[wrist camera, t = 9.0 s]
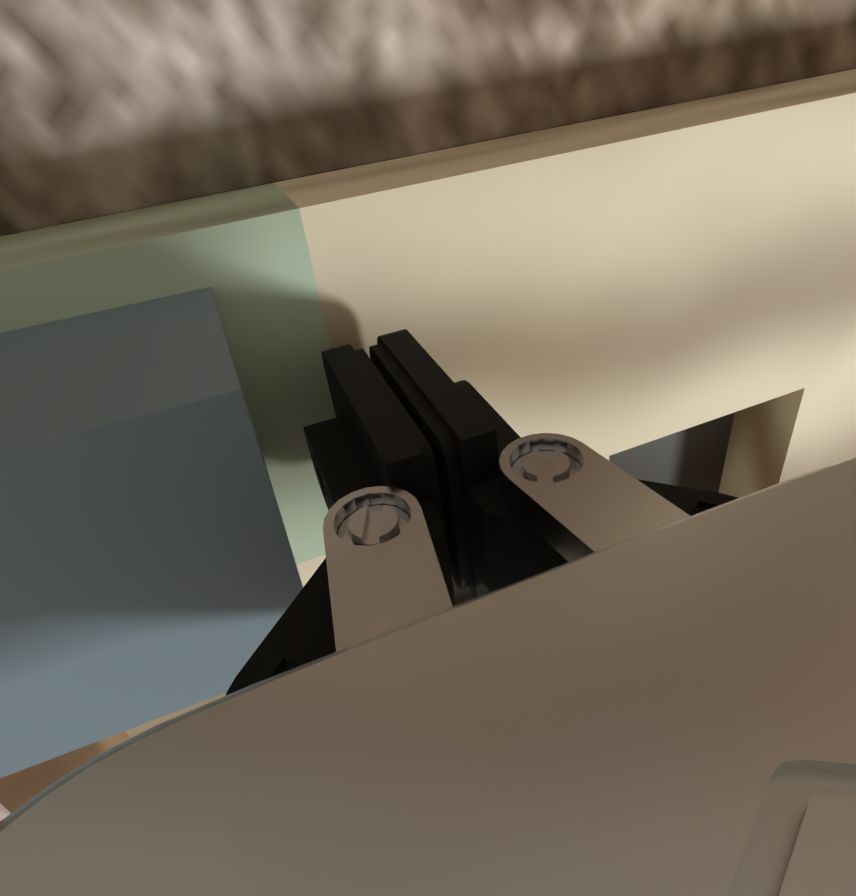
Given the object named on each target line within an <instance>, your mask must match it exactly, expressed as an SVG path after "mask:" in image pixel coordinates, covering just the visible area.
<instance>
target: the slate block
mask: <svg viewBox="0 0 856 896" xmlns="http://www.w3.org/2000/svg"><path fill="white" fill-rule="evenodd" d="M302 588H303V585H302V581H301V578H300V575H299V571H298V568H297V565H296V561H295V558H294V555H293V551H292V548H291V545H290V542H289V538H288V535H287V532H286V528H285V525H284V522H283V518H282V515H281V512H280V509H279V505H278V502H277V499H276V496H275V492H274V489H273V486H272V483H271V480H270V476H269V473H268V470H267V467H266V464H265V460H264V457H263V454H262V451H261V447H260V444H259V441H258V438H257V435H256V431H255V428H254V425H253V422H252V419H251V415H250V412H249V409H248V406H247V402H246V399H245V396H244V393H243V390H242V386H241V383H240V380H239V377H238V374H237V370H236V367H235V364H234V361H233V357H232V354H231V351H230V348H229V345H228V341H227V338H226V335H225V332H224V329H223V325H222V322H221V319H220V316H219V312H218V309H217V306H216V303H215V300H214V296H213V293H212V290H211V287H208V288H203V289H199V290H194V291H190V292H185V293H180V294H176V295H171V296H167V297H162V298H158V299H153V300H148V301H144V302H139V303H135V304H130V305H126V306H121V307H117V308H112V309H107V310H103V311H98V312H94V313H89V314H85V315H80V316H75V317H71V318H66V319H62V320H57V321H53V322H48V323H44V324H39V325H34V326H30V327H25V328H21V329H16V330H12V331H7V332H3V333H0V778H2V777H5V776H7V775H10V774H13V773H15V772H18V771H21V770H23V769H26V768H29V767H31V766H34V765H36V764H39V763H42V762H44V761H47V760H50V759H52V758H55V757H58V756H60V755H63V754H65V753H68V752H71V751H73V750H76V749H79V748H81V747H84V746H87V745H89V744H92V743H94V742H97V741H100V740H102V739H105V738H108V737H110V736H113V735H116V734H118V733H121V732H124V731H126V730H129V729H131V728H134V727H137V726H139V725H142V724H145V723H147V722H150V721H153V720H155V719H158V718H160V717H163V716H166V715H168V714H171V713H174V712H176V711H179V710H182V709H184V708H187V707H189V706H192V705H195V704H197V703H200V702H203V701H205V700H208V699H211V698H213V697H216V696H218V695H221V694H224V693H226V692H227V691H228V689H229V687H230V686H231V684H232V682H233V680H234V679H235V677H236V676H237V674H238V673H239V672H240V670H241V669H242V668H243V666H244V665H245V664H246V662H247V661H248V660H249V658H250V657H251V656H252V654H253V653H254V652H255V651H256V649H257V648H258V647H259V645H260V644H261V643H262V641H263V640H264V639H265V637H266V636H267V635H268V633H269V632H270V631H271V629H272V628H273V627H274V625H275V624H276V623H277V621H278V620H279V619H280V618H281V616H282V615H283V614H284V612H285V611H286V610H287V608H288V607H289V606H290V604H291V603H292V602H293V600H294V599H295V598H296V596H297V595H298V594H299V592H300V591H301V590H302Z"/></svg>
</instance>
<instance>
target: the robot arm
mask: <svg viewBox="0 0 856 896" xmlns="http://www.w3.org/2000/svg"><path fill="white" fill-rule="evenodd" d="M321 354H322V360H323V365H324V369H325V373H326V377H327V382H328V386H329V390H330V394H331V398H332V403H333V407H334V411H335V415H336V417H335V418H332V419H329V420H325V421H322V422H318V423H315V424H311V425H308V426H305V427H303V428H304V433H305V437H306V441H307V445H308V448H309V452H310V455H311V459H312V462H313V466H314V469H315V473H316V476H317V479H318V482H319V485H320V488H321V491H322V494H323V497H324V500H325V503H326V506H327V508H328V513H327V514H326V516H325V518H324V523H323V536H324V545H325V554H326V558H325V559H324V561H323V562H322V563H321V565H320V566H319V567H318V569H317V570H316V571H315V573H314V574H313V575H312V577H311V578H310V579H309V581H308V582H307V583H306V584H305V586H304V587H303V588H302V590H301V591H300V592H299V594H298V595H297V596H296V598H295V599H294V600H293V602H292V603H291V604H290V606H289V607H288V608H287V610H286V611H285V612H284V614H283V615H282V616H281V618H280V619H279V620H278V621H277V623H276V624H275V625H274V627H273V628H272V629H271V631H270V632H269V633H268V635H267V636H266V637H265V639H264V640H263V641H262V643H261V644H260V645H259V647H258V648H257V649H256V651H255V652H254V653H253V654H252V656H251V657H250V658H249V660H248V661H247V662H246V664H245V665H244V666H243V668H242V669H241V670H240V672H239V673H238V674H237V676H236V677H235V679H234V680H233V682H232V684H231V686H230V687H229V689H228V691H227V693H226V696H224V697H222V698H219V699H217V700H214V701H212V702H210V703H207V704H205V705H203V706H200V707H198V708H196V709H193V710H191V711H189V712H186V713H184V714H182V715H179V716H177V717H175V718H172V719H170V720H167V721H165V722H163V723H160V724H158V725H156V726H154V727H152V728H150V729H148V730H146V731H144V732H142V733H140V734H138V735H136V736H134V737H132V738H130V739H128V740H126V741H124V742H122V743H120V744H118V745H116V746H114V747H112V748H110V749H108V750H106V751H105V752H103V753H101V754H100V755H98V756H96V757H95V758H93V759H91V760H90V761H88V762H86V763H85V764H83V765H81V766H80V767H78V768H76V769H75V770H73V771H71V772H70V773H68V774H67V775H65V776H63V777H62V778H60V779H58V780H57V781H55V782H53V783H52V784H51V785H49V786H48V787H47V788H45V789H44V790H43V791H41V792H40V793H39V794H37V795H36V796H34V797H33V798H32V799H30V800H29V801H28V802H26V803H25V804H24V805H22V806H21V807H20V808H18V809H17V810H15V811H14V812H13V813H11V814H10V815H9V816H7V817H6V818H5V819H3V820H2V821H0V896H856V455H854V456H851V457H848V458H845V459H842V460H840V461H837V462H834V463H831V464H829V465H826V466H824V467H821V468H818V469H815V470H813V471H810V472H807V473H805V474H802V475H799V476H797V477H794V478H791V479H788V480H786V481H783V482H780V483H778V484H775V485H772V486H770V487H767V488H764V489H762V490H759V491H756V492H754V493H751V494H748V495H746V496H743V497H740V498H738V497H734V496H730V495H727V494H723V493H717V492H711V491H705V490H699V489H693V488H687V487H681V486H675V485H669V484H663V483H657V482H651V481H645V480H639V479H635V478H634V477H632V476H631V475H630V474H628V473H627V472H625V471H624V470H622V469H621V468H619V467H618V466H616V465H615V464H613V463H612V462H610V461H609V460H607V459H606V458H605V457H603V456H602V455H600V454H599V453H597V452H596V451H594V450H593V449H591V448H590V447H588V446H587V445H585V444H584V443H582V442H580V441H578V440H576V439H574V438H572V437H569V436H565V435H561V434H555V433H539V434H531V435H527V436H524V437H520V436H519V435H518V434H517V433H516V432H515V431H514V430H513V429H512V428H511V426H510V425H509V424H508V423H507V422H506V421H505V420H504V419H503V418H502V417H501V416H500V415H499V414H498V413H497V412H496V411H495V409H494V408H493V407H492V406H491V405H490V404H489V403H488V402H487V401H486V400H485V399H484V398H483V397H482V396H481V395H480V393H479V392H478V391H477V390H476V389H475V388H474V387H473V386H472V385H471V384H470V383H469V382H468V381H466V380H461V381H458V382H455V383H454V382H453V381H452V379H451V378H450V377H449V376H448V375H447V374H446V373H445V372H444V371H443V369H442V368H441V367H440V366H439V365H438V364H437V363H436V362H435V360H434V359H433V358H432V357H431V356H430V355H429V354H428V353H427V352H426V350H425V349H424V348H423V347H422V346H421V345H420V344H419V343H418V342H417V340H416V339H415V338H414V337H413V336H412V335H411V334H410V333H409V331H408V330H406V329H403V330H400V331H396V332H392V333H388V334H385V335H381V336H378V338H377V345H373V346H370V347H369V354H370V358H369V356H368V355H367V353H366V352H365V350H364V349H363V348H362V349H358V350H354V349H353V347H352V346H351V345H350V344H347V345H343V346H340V347H336V348H332V349H328V350H325V351H322V352H321ZM452 578H453V580H454V582H455V583H456V585H457V587H458V588H459V589H463V588H466V587H469V588H470V590H471V592H472V593H473V595H474V597H475V598H474V599H471V600H469V601H466V602H463V603H461V604H458V605H455V598H454V590H453V583H452Z"/></svg>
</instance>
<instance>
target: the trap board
mask: <svg viewBox="0 0 856 896" xmlns="http://www.w3.org/2000/svg"><path fill="white" fill-rule="evenodd" d="M208 287H211V290H212V293H213V296H214V300H215V303H216V306H217V309H218V312H219V316H220V319H221V322H222V325H223V329H224V332H225V335H226V338H227V341H228V345H229V348H230V351H231V354H232V357H233V361H234V364H235V367H236V370H237V374H238V377H239V380H240V383H241V386H242V390H243V393H244V396H245V399H246V402H247V406H248V409H249V412H250V415H251V419H252V422H253V425H254V428H255V431H256V435H257V438H258V441H259V444H260V447H261V451H262V454H263V457H264V460H265V464H266V467H267V470H268V473H269V476H270V480H271V483H272V486H273V489H274V492H275V496H276V499H277V502H278V505H279V509H280V512H281V515H282V518H283V522H284V525H285V528H286V532H287V535H288V538H289V542H290V545H291V548H292V551H293V555H294V558H295V561H296V565H297V568H298V571H299V575H300V578H301V581H302V585H303V587H304V586H305V584H306V583H307V582H308V581H309V579H310V578H311V577H312V575H313V574H314V573H315V571H316V570H317V569H318V567H319V566H320V565H321V563H322V562H323V561H324V559H325V558H326V554H325V545H324V536H323V523H324V518H325V516H326V514H327V513H328V508H327V506H326V503H325V500H324V497H323V494H322V491H321V488H320V485H319V482H318V479H317V476H316V473H315V469H314V466H313V462H312V459H311V455H310V452H309V448H308V445H307V441H306V437H305V433H304V428H303V427H305V426H308V425H311V424H315V423H318V422H322V421H325V420H329V419H332V418H335V417H336V415H335V411H334V407H333V403H332V398H331V394H330V390H329V386H328V382H327V377H326V373H325V369H324V365H323V360H322V354H321V352H322V351H325V350H328V349H332V348H336V347H340V346H343V345H347V344H350V345H351V346H352V347H353V349H354V350H358V349H362V348H363V349H364V350H365V352H366V353H367V355H368V356H369V358H370V354H369V347H370V346H373V345H377V338H378V336H381V335H385V334H388V333H392V332H396V331H400V330H403V329H406V330H408V331H409V333H410V334H411V335H412V336H413V337H414V338H415V339H416V340H417V342H418V343H419V344H420V345H421V346H422V347H423V348H424V349H425V350H426V352H427V353H428V354H429V355H430V356H431V357H432V358H433V359H434V360H435V362H436V363H437V364H438V365H439V366H440V367H441V368H442V369H443V371H444V372H445V373H446V374H447V375H448V376H449V377H450V378H451V379H452V381H453V382H454V383H455V382H458V381H461V380H466V381H468V382H469V383H470V384H471V385H472V386H473V387H474V388H475V389H476V390H477V391H478V392H479V393H480V395H481V396H482V397H483V398H484V399H485V400H486V401H487V402H488V403H489V404H490V405H491V406H492V407H493V408H494V409H495V411H496V412H497V413H498V414H499V415H500V416H501V417H502V418H503V419H504V420H505V421H506V422H507V423H508V424H509V425H510V426H511V428H512V429H513V430H514V431H515V432H516V433H517V434H518V435H519V436H520V437H524V436H527V435H531V434H539V433H555V434H561V435H565V436H569V437H572V438H574V439H576V440H578V441H580V442H582V443H584V444H585V445H587V446H588V447H590V448H591V449H593V450H594V451H596V452H597V453H599V454H600V455H602V456H603V457H605V458H606V459H607V460H609V461H610V462H612V463H613V464H615V465H616V466H618V467H619V468H621V469H622V470H624V471H625V472H627V473H628V474H630V475H631V476H632V477H634V478H635V479H639V480H645V481H651V482H657V483H663V484H669V485H675V486H681V487H687V488H693V489H699V490H705V491H711V492H717V493H723V494H727V495H730V496H734V497H738V498H740V497H743V496H746V495H748V494H751V493H754V492H756V491H759V490H762V489H764V488H767V487H770V486H772V485H775V484H778V483H780V482H783V481H786V480H788V479H791V478H794V477H797V476H799V475H802V474H805V473H807V472H810V471H813V470H815V469H818V468H821V467H824V466H826V465H829V464H831V463H834V462H837V461H840V460H842V459H845V458H848V457H851V456H854V455H856V69H852V70H847V71H842V72H837V73H832V74H826V75H821V76H816V77H811V78H806V79H801V80H796V81H791V82H786V83H780V84H775V85H770V86H765V87H760V88H755V89H750V90H745V91H740V92H734V93H729V94H724V95H719V96H714V97H709V98H704V99H699V100H694V101H689V102H683V103H678V104H673V105H668V106H663V107H658V108H653V109H648V110H643V111H637V112H632V113H627V114H622V115H617V116H612V117H607V118H602V119H597V120H592V121H586V122H581V123H576V124H571V125H566V126H561V127H556V128H551V129H546V130H540V131H535V132H530V133H525V134H520V135H515V136H510V137H505V138H500V139H495V140H489V141H484V142H479V143H474V144H469V145H464V146H459V147H454V148H449V149H443V150H438V151H433V152H428V153H423V154H418V155H413V156H408V157H403V158H398V159H392V160H387V161H382V162H377V163H372V164H367V165H362V166H357V167H352V168H346V169H341V170H336V171H331V172H326V173H321V174H316V175H311V176H306V177H301V178H295V179H290V180H285V181H280V182H275V183H270V184H265V185H260V186H255V187H249V188H244V189H239V190H234V191H229V192H224V193H219V194H214V195H209V196H204V197H198V198H193V199H188V200H183V201H178V202H173V203H168V204H163V205H158V206H152V207H147V208H142V209H137V210H132V211H127V212H122V213H117V214H112V215H107V216H101V217H96V218H91V219H86V220H81V221H76V222H71V223H66V224H61V225H55V226H50V227H45V228H40V229H35V230H30V231H25V232H20V233H15V234H9V235H4V236H0V333H3V332H7V331H12V330H16V329H21V328H25V327H30V326H34V325H39V324H44V323H48V322H53V321H57V320H62V319H66V318H71V317H75V316H80V315H85V314H89V313H94V312H98V311H103V310H107V309H112V308H117V307H121V306H126V305H130V304H135V303H139V302H144V301H148V300H153V299H158V298H162V297H167V296H171V295H176V294H180V293H185V292H190V291H194V290H199V289H203V288H208ZM452 583H453V590H454V598H455V605H458V604H461V603H463V602H466V601H469V600H471V599H474V598H475V597H474V595H473V593H472V592H471V590H470V588H469V587H466V588H463V589H459V588H458V587H457V585H456V583H455V582H454V580H453V578H452ZM226 693H227V692H226ZM226 693H224V694H221V695H218V696H216V697H213V698H211V699H208V700H205V701H203V702H200V703H197V704H195V705H192V706H189V707H187V708H184V709H182V710H179V711H176V712H174V713H171V714H168V715H166V716H163V717H160V718H158V719H155V720H153V721H150V722H147V723H145V724H142V725H139V726H137V727H134V728H131V729H129V730H126V731H124V732H121V733H118V734H116V735H113V736H110V737H108V738H105V739H102V740H100V741H97V742H94V743H92V744H89V745H87V746H84V747H81V748H79V749H76V750H73V751H71V752H68V753H65V754H63V755H60V756H58V757H55V758H52V759H50V760H47V761H44V762H42V763H39V764H36V765H34V766H31V767H29V768H26V769H23V770H21V771H18V772H15V773H13V774H10V775H7V776H5V777H2V778H0V803H1V804H2V805H3V806H4V807H6V808H7V809H8V810H9V811H10V812H11V813H13V812H14V811H15V810H17V809H18V808H20V807H21V806H22V805H24V804H25V803H26V802H28V801H29V800H30V799H32V798H33V797H34V796H36V795H37V794H39V793H40V792H41V791H43V790H44V789H45V788H47V787H48V786H49V785H51V784H52V783H53V782H55V781H57V780H58V779H60V778H62V777H63V776H65V775H67V774H68V773H70V772H71V771H73V770H75V769H76V768H78V767H80V766H81V765H83V764H85V763H86V762H88V761H90V760H91V759H93V758H95V757H96V756H98V755H100V754H101V753H103V752H105V751H106V750H108V749H110V748H112V747H114V746H116V745H118V744H120V743H122V742H124V741H126V740H128V739H130V738H132V737H134V736H136V735H138V734H140V733H142V732H144V731H146V730H148V729H150V728H152V727H154V726H156V725H158V724H160V723H163V722H165V721H167V720H170V719H172V718H175V717H177V716H179V715H182V714H184V713H186V712H189V711H191V710H193V709H196V708H198V707H200V706H203V705H205V704H207V703H210V702H212V701H214V700H217V699H219V698H222V697H224V696H226Z"/></svg>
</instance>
